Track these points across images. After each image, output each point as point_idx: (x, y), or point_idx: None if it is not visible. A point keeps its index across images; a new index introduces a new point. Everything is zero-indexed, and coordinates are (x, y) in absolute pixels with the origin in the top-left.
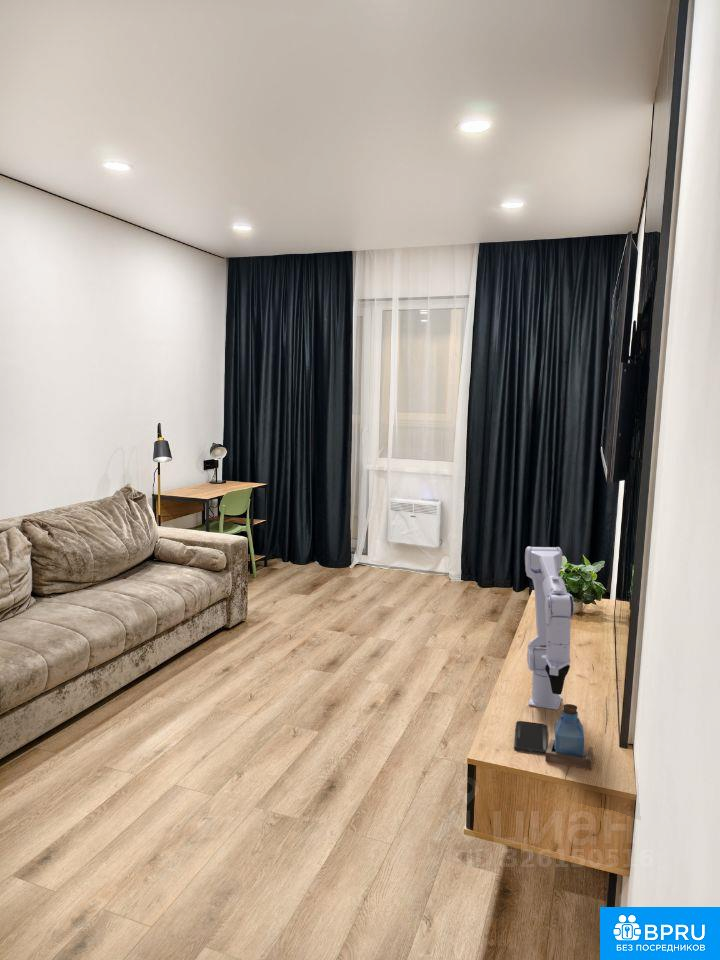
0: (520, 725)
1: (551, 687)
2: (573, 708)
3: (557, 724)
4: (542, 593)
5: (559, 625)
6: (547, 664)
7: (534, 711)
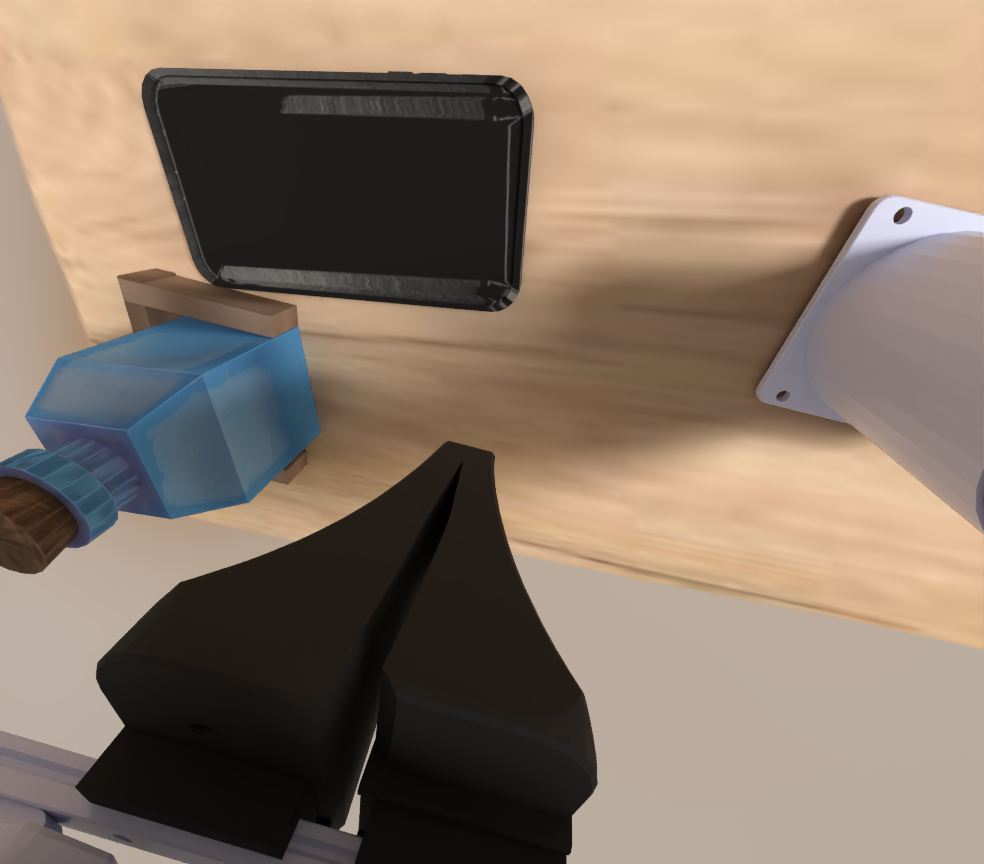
0: (466, 117)
1: (421, 464)
2: None
3: (130, 386)
4: None
5: None
6: (439, 716)
7: (753, 241)
